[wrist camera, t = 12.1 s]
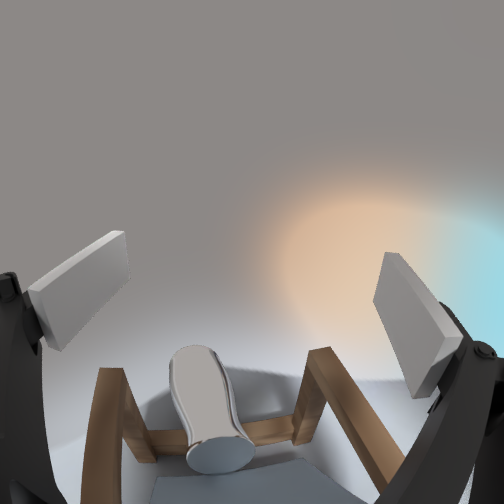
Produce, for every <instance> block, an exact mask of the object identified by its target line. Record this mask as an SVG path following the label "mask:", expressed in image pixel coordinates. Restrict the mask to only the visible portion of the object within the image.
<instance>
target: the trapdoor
mask: <svg viewBox="0 0 504 504" xmlns="http://www.w3.org/2000/svg"><path fill="white" fill-rule="evenodd" d="M149 504H367V503H366V502H364V501H363V500H361V499H360V498H358V497H356V496H355V495H353V494H352V493H350V492H349V491H347V490H346V489H344V488H343V487H342V486H340V485H339V484H337V483H336V482H334V481H333V480H332V479H330V478H329V477H327V476H326V475H325V474H323V473H322V472H321V471H319V470H318V469H317V468H315V467H314V466H313V465H311V464H310V463H309V462H307V461H306V460H305V459H304V458H299V459H296V460H292V461H287V462H283V463H279V464H274V465H269V466H264V467H259V468H254V469H248V470H241V471H234V472H230V473H226V474H219V475H210V474H208V475H196V476H175V477H157V479H156V483H155V486H154V489H153V493H152V496H151V500H150V503H149Z"/></svg>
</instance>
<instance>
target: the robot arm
mask: <svg viewBox="0 0 504 504" xmlns="http://www.w3.org/2000/svg"><path fill="white" fill-rule="evenodd" d="M129 279H131V277H130V270H129V262H128V255H127V247H126V239H125V232H124V231H112V232H110V233H108V234H107V235H105V236H104V237H102V238H100V239H99V240H97V241H96V242H94V243H92V244H91V245H89V246H88V247H86V248H84V249H83V250H81V251H80V252H78V253H77V254H75V255H74V256H72V257H71V258H69V259H68V260H66V261H65V262H63V263H62V264H60V265H59V266H58V267H56V268H55V269H53V270H52V271H50V272H49V273H48V274H46V275H45V276H43V277H42V278H41V279H39V280H38V281H36V282H35V283H34V284H32V285H31V286H30V287H28V288H27V291H26V292H24V293H23V294H22V292H21V289H20V285H19V282H18V279H17V275H16V274H15V273H14V272H7V273H3V274H1V275H0V504H67V502H66V500H65V498H64V497H63V495H62V494H61V492H60V491H59V490H58V488H57V486H56V483H55V479H54V475H53V470H52V465H51V460H50V455H49V449H48V443H47V436H46V428H45V419H44V408H43V393H42V345H41V342H40V340H39V339H40V338H41V337H42V336H43V335H44V337H45V339H46V342H47V344H48V346H49V347H50V348H53V349H55V350H58V351H62V350H63V349H64V348H65V346H66V345H67V344H68V343H69V342H70V341H71V340H72V339H73V338H74V336H75V335H76V334H77V333H78V332H79V331H80V330H81V329H82V328H83V327H84V325H86V324H87V322H88V321H89V320H90V319H91V318H92V317H93V316H94V315H95V314H96V313H97V312H98V311H99V310H100V309H101V308H102V307H103V306H104V305H105V304H106V303H107V302H108V301H109V300H110V299H111V297H112V296H114V295H115V293H117V292H118V290H119V289H120V288H122V287H123V285H125V284H126V283H127V282H128V281H129ZM373 303H374V305H375V307H376V309H377V311H378V314H379V316H380V318H381V320H382V323H383V325H384V327H385V330H386V332H387V334H388V337H389V339H390V342H391V344H392V346H393V349H394V351H395V354H396V356H397V359H398V361H399V364H400V367H401V369H402V372H403V375H404V377H405V380H406V383H407V385H408V388H409V391H410V394H411V397H412V399H417V398H425V397H430V396H431V394H432V392H433V391H434V389H435V388H436V386H438V388H439V390H440V392H441V393H440V394H439V396H438V397H437V399H436V400H435V402H434V403H433V405H432V406H431V408H430V409H429V411H428V412H427V413H429V416H428V418H427V420H426V422H425V424H424V426H423V428H422V430H421V432H420V433H419V435H418V437H417V439H416V441H415V442H414V444H413V446H412V448H411V449H410V451H409V453H408V455H407V456H406V458H405V459H404V461H403V463H402V464H401V466H400V467H399V469H398V470H397V472H396V474H395V475H394V476H393V478H392V479H391V481H390V482H389V484H388V485H387V487H386V488H385V489H384V491H383V492H382V493H381V495H380V496H379V498H378V499H377V500H376V501H375V503H374V504H458V503H459V501H460V499H461V496H462V494H463V492H464V490H465V487H466V485H467V482H468V480H469V477H470V475H471V472H472V469H473V467H474V464H475V467H474V475H473V482H472V488H471V493H470V498H469V503H468V504H504V358H499V357H497V354H496V352H495V350H494V349H493V348H492V347H491V346H490V345H488V344H486V343H484V342H481V341H473V340H472V338H471V337H470V335H469V334H468V332H467V331H466V330H465V328H464V327H463V326H462V324H461V323H460V322H459V320H458V319H457V317H455V315H454V314H453V312H452V311H451V310H450V308H448V307H447V306H446V305H444V304H443V303H441V302H438V301H437V299H436V298H435V297H434V295H433V294H432V293H431V292H430V290H429V289H428V288H427V287H426V285H425V284H424V283H423V282H422V281H421V279H420V278H419V277H418V276H417V274H416V273H415V272H414V271H413V269H412V268H411V267H410V266H409V265H408V264H407V262H406V261H405V260H404V259H403V258H402V257H401V256H400V254H399V253H390V252H385V254H384V259H383V263H382V268H381V272H380V276H379V280H378V284H377V288H376V292H375V296H374V299H373Z"/></svg>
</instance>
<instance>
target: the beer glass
mask: <svg viewBox="0 0 504 504" xmlns="http://www.w3.org/2000/svg"><path fill="white" fill-rule="evenodd" d="M169 369H170V373H169V383H170V392H171V397H172V401H173V404H174V407H175V409H176V411H177V414H178V416H179V418H180V420H181V423H182V425H183V427H184V430H185V434H186V461H187V463H188V465H189V466H190V467H191V468H192V469H193V470H195V471H197V472H200V473H203V474H210V475H219V474H226V473H230V472H233V471H236V470H238V469H240V468H242V467H244V466H245V465H247V464H248V463H249V462H250V461H251V460H252V458H253V457H254V455H255V452H256V448H255V444H254V443H253V441H252V440H251V438H250V437H249V436H248V434H247V433H246V432H245V431H244V429H243V428H242V426H241V424H240V422H239V419H238V416H237V411H236V404H235V397H234V392H233V388H232V384H231V381H230V379H229V376H228V374H227V372H226V370H225V368H224V366H223V364H222V363H221V361H220V359H219V357H218V355H217V354H216V353H215V352H214V351H213V350H211V349H210V348H208V347H205V346H200V345H192V346H187V347H184V348H182V349H180V350H179V351H177V352H176V353H175V354H174V356H173V357H172V358H171V361H170V364H169Z"/></svg>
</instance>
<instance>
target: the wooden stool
mask: <svg viewBox="0 0 504 504" xmlns="http://www.w3.org/2000/svg"><path fill="white" fill-rule="evenodd" d="M327 401H328V403H329V405H330V407H331V409H332V410H333V412H334V414H335V416H336V418H337V419H338V421H339V423H340V425H341V426H342V428H343V430H344V432H345V434H346V435H347V437H348V439H349V441H350V442H351V444H352V446H353V448H354V450H355V451H356V453H357V455H358V457H359V458H360V460H361V462H362V464H363V465H364V467H365V469H366V471H367V472H368V474H369V476H370V478H371V480H372V481H373V483H374V485H375V487H376V488H377V490H378V492H379V494H380V495H381V493H382V492H383V491H384V489H385V488H386V487H387V485H388V484H389V482H390V481H391V479H392V478H393V476H394V475H395V474H396V472H397V470H398V469H399V467H400V466H401V464H402V463H403V461H404V459H405V456H404V455H403V453H402V452H401V450H400V449H399V447H398V446H397V444H396V443H395V441H394V440H393V438H392V437H391V435H390V434H389V432H388V431H387V429H386V428H385V426H384V425H383V423H382V422H381V420H380V419H379V417H378V416H377V415H376V413H375V412H374V410H373V409H372V407H371V406H370V404H369V403H368V401H367V400H366V398H365V397H364V395H363V394H362V392H361V391H360V389H359V388H358V386H357V385H356V384H355V382H354V381H353V379H352V378H351V376H350V375H349V373H348V372H347V370H346V369H345V367H344V366H343V364H342V363H341V362H340V360H339V359H338V357H337V356H336V354H335V353H334V351H333V350H332V348H331V347H325V348H320V349H315V350H310V351H309V353H308V357H307V362H306V366H305V370H304V375H303V379H302V383H301V387H300V391H299V395H298V399H297V403H296V407H295V411H294V414H292V415H287V416H282V417H277V418H272V419H267V420H261V421H255V422H249V423H242V424H241V426H242V428H243V429H244V431H245V432H246V433H247V434H248V436H249V437H250V438H251V440H252V441H253V443H254V444H255V447H256V446H262V445H267V444H272V443H277V442H282V441H286V440H292V443H293V445H294V446H296V445H300V444H304V443H308V442H311V439H312V437H313V435H314V432H315V430H316V427H317V425H318V422H319V420H320V417H321V415H322V412H323V410H324V407H325V404H326V402H327ZM122 437H123V438H124V440H125V442H126V443H127V445H128V447H129V448H130V450H131V451H132V453H133V454H134V456H135V457H136V459H137V460H138V462H139V463H157V457H156V455H186V434H185V430H184V429H182V430H147V428H146V426H145V423H144V421H143V419H142V416H141V414H140V412H139V409H138V407H137V404H136V402H135V399H134V397H133V394H132V392H131V389H130V387H129V384H128V381H127V378H126V376H125V373H124V370H123V368H100V369H99V373H98V377H97V382H96V387H95V391H94V397H93V402H92V407H91V412H90V418H89V424H88V430H87V437H86V445H85V452H84V461H83V472H82V484H81V503H80V504H122V501H121V459H122Z"/></svg>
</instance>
